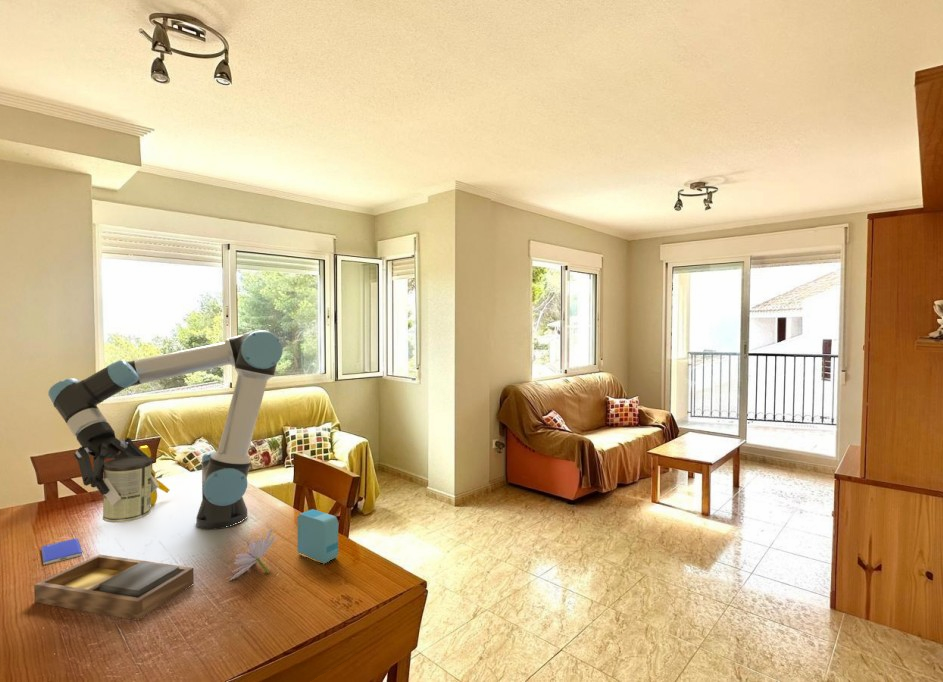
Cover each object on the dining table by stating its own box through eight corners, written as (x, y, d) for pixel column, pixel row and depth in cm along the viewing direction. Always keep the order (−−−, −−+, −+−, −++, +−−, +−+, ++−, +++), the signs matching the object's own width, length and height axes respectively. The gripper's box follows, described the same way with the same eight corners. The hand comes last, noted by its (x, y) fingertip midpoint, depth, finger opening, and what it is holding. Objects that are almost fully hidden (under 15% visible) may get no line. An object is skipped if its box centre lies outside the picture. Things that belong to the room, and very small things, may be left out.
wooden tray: (34, 602, 112) (34, 580, 112) (100, 569, 128) (100, 550, 127) (137, 620, 105) (137, 597, 105) (194, 583, 121) (194, 563, 121)
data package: (338, 559, 134) (338, 516, 133) (325, 566, 130) (325, 522, 130) (310, 548, 140) (310, 507, 140) (297, 554, 137) (296, 512, 136)
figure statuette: (168, 497, 183) (167, 439, 182) (174, 502, 177) (173, 442, 177) (110, 510, 170) (109, 447, 169) (115, 516, 164) (114, 451, 164)
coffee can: (99, 513, 126) (101, 459, 125) (146, 505, 133) (148, 454, 133) (104, 526, 118) (106, 468, 118) (154, 516, 125) (156, 462, 125)
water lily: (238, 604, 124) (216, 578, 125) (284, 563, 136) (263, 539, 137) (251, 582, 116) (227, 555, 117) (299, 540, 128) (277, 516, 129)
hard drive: (41, 546, 139) (43, 561, 130) (77, 537, 145) (82, 551, 136) (41, 551, 139) (43, 567, 130) (78, 542, 145) (82, 557, 136)
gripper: (124, 431, 140) (166, 491, 136) (36, 447, 118) (83, 520, 114) (139, 414, 139) (182, 474, 135) (53, 427, 117) (101, 500, 113)
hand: (136, 495), depth 125 cm, fingers closed on coffee can, 10 cm apart
